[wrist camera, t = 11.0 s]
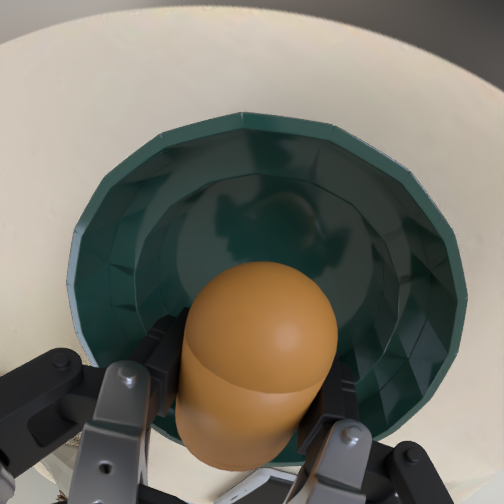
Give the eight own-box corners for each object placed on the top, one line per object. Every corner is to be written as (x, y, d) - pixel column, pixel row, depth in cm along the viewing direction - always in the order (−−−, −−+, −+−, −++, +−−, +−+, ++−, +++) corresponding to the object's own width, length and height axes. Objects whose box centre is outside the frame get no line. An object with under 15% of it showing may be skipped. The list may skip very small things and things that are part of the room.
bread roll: (220, 226, 10) (166, 282, 6) (349, 261, 10) (377, 339, 6) (190, 395, 13) (158, 467, 9) (280, 420, 13) (269, 498, 9)
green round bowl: (263, 64, 12) (239, 13, 7) (460, 286, 14) (512, 345, 9) (93, 276, 18) (33, 321, 12) (268, 421, 20) (257, 488, 14)
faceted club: (117, 483, 29) (-7, 386, 30) (127, 452, 28) (-8, 346, 29) (91, 522, 20) (-42, 406, 21) (96, 496, 19) (-49, 364, 20)
